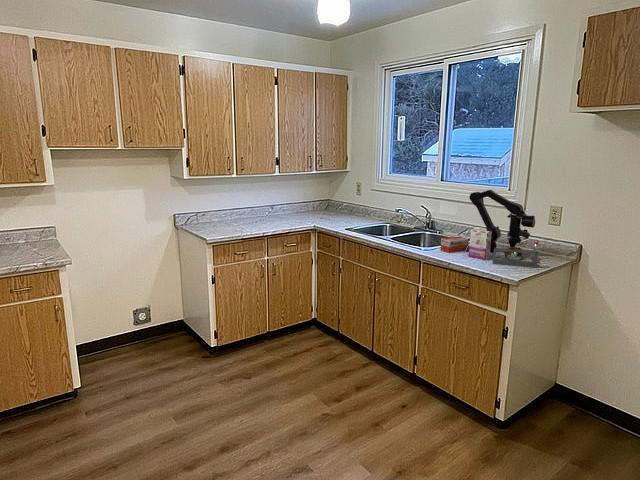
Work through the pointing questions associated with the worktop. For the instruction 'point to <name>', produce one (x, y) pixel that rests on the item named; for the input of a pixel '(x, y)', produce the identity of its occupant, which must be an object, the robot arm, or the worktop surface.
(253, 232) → the worktop surface
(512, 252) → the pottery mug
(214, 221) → the worktop surface
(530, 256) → the ram track
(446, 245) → the medicine box
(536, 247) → the handle
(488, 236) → the candy bar box
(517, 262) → the press bed
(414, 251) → the worktop surface
